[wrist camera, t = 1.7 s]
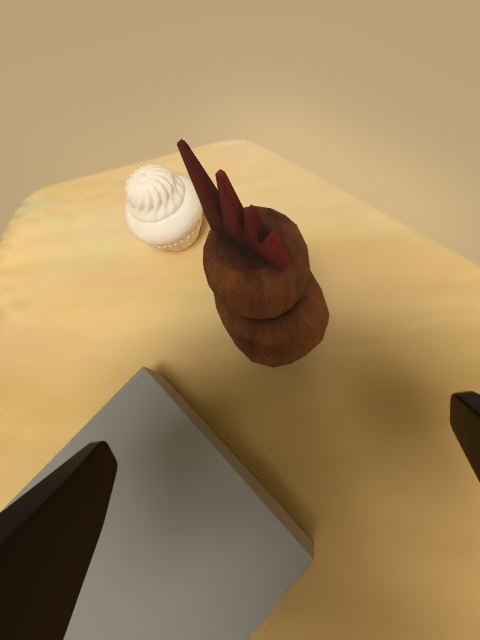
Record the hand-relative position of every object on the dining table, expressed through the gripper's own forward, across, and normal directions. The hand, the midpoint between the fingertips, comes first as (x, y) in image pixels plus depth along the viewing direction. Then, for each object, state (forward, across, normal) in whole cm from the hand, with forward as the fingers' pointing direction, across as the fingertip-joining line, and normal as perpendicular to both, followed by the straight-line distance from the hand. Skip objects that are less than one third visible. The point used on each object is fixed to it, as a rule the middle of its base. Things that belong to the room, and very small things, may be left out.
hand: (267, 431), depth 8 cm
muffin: (+22, +7, -3) cm, 23 cm away
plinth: (+6, +10, +12) cm, 17 cm away
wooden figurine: (+14, 0, +4) cm, 15 cm away
